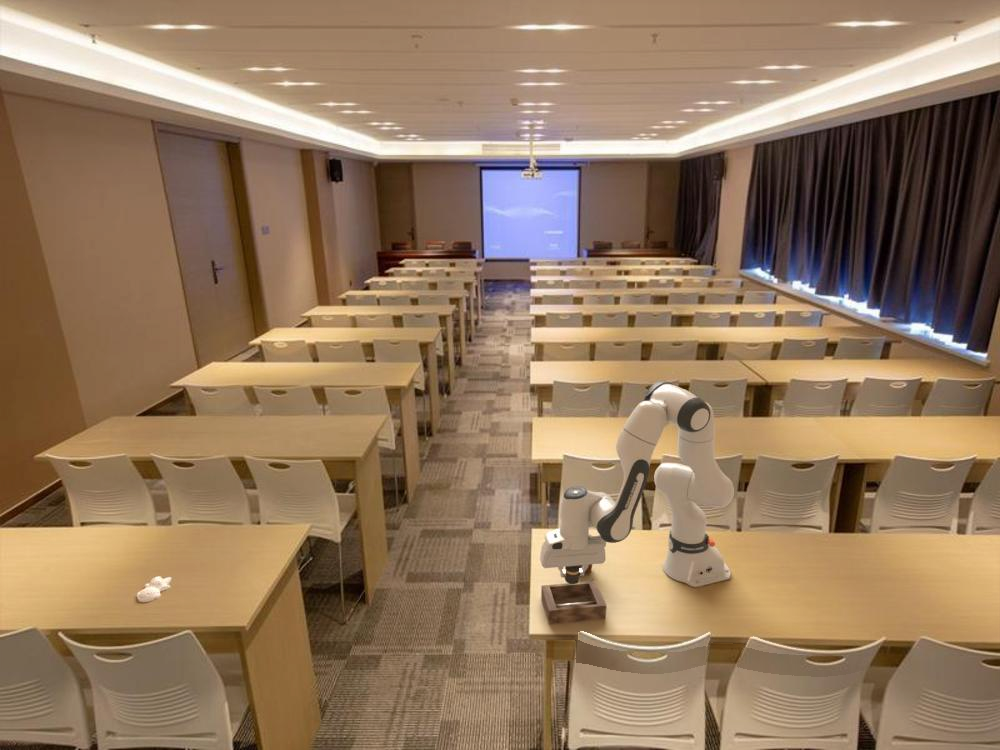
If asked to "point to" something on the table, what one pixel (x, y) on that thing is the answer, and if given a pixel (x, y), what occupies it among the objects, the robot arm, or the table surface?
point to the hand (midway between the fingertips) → (572, 575)
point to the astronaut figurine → (153, 589)
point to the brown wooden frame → (573, 612)
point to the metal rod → (575, 604)
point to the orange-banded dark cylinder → (572, 574)
